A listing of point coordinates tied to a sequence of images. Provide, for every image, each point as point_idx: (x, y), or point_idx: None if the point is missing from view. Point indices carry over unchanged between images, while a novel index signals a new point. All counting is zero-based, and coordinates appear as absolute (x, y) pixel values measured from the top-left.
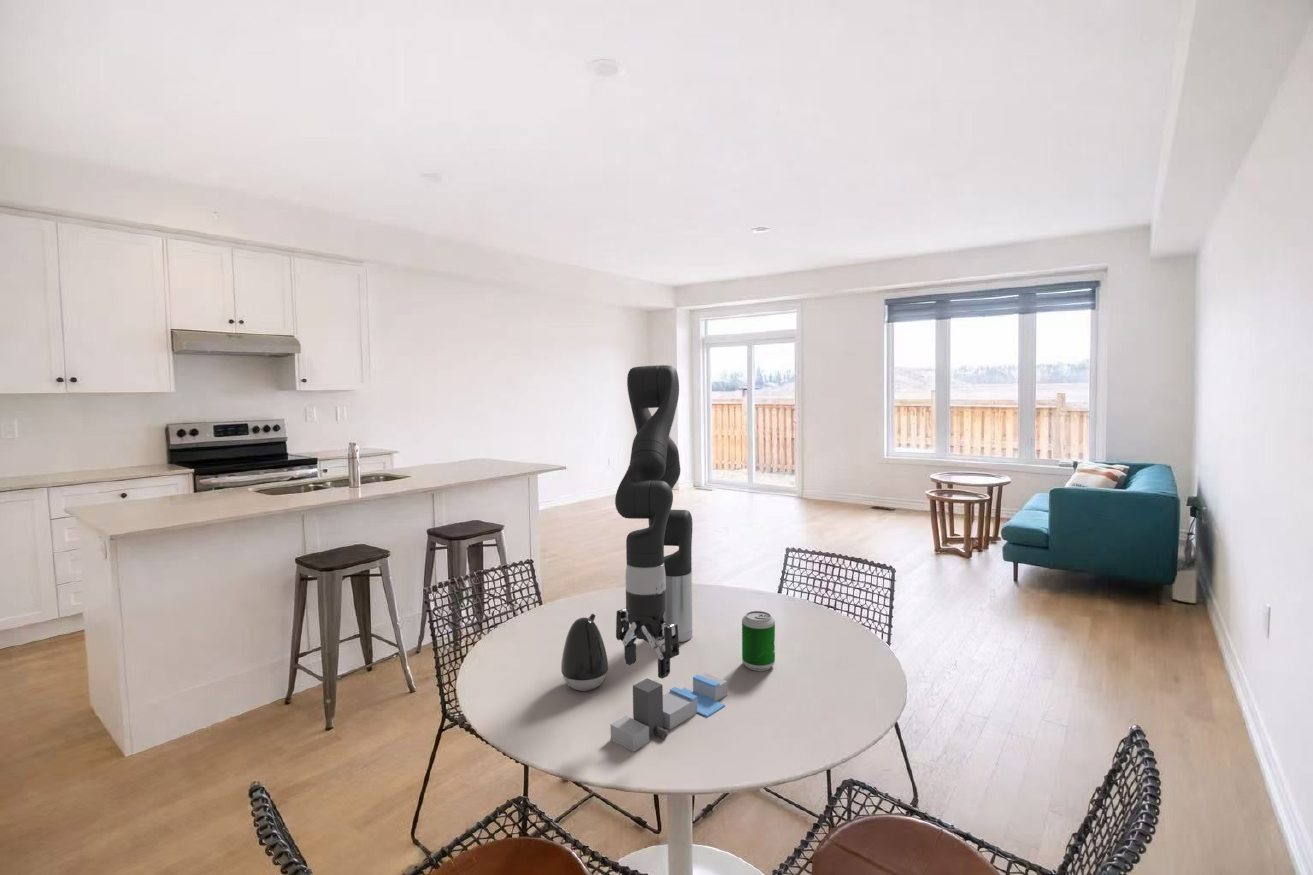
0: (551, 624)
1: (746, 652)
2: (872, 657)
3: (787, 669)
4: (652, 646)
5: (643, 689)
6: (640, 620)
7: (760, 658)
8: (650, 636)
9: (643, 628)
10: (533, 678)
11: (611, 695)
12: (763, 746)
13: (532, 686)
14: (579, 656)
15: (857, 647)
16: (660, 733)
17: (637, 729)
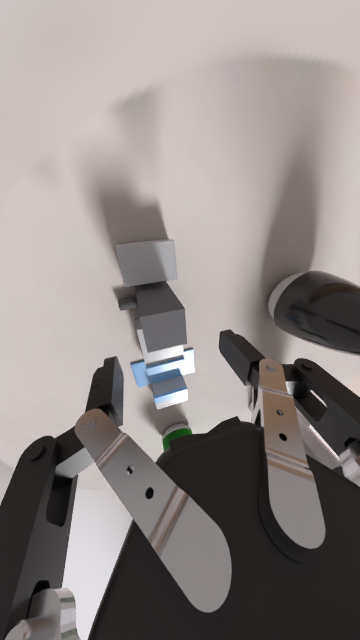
0: None
1: None
2: None
3: (153, 443)
4: (122, 444)
5: (155, 316)
6: (287, 588)
7: (168, 443)
8: (139, 509)
9: (207, 556)
10: (344, 254)
11: (244, 306)
12: (32, 382)
13: (337, 240)
14: (329, 295)
15: None
16: (123, 300)
17: (129, 266)
